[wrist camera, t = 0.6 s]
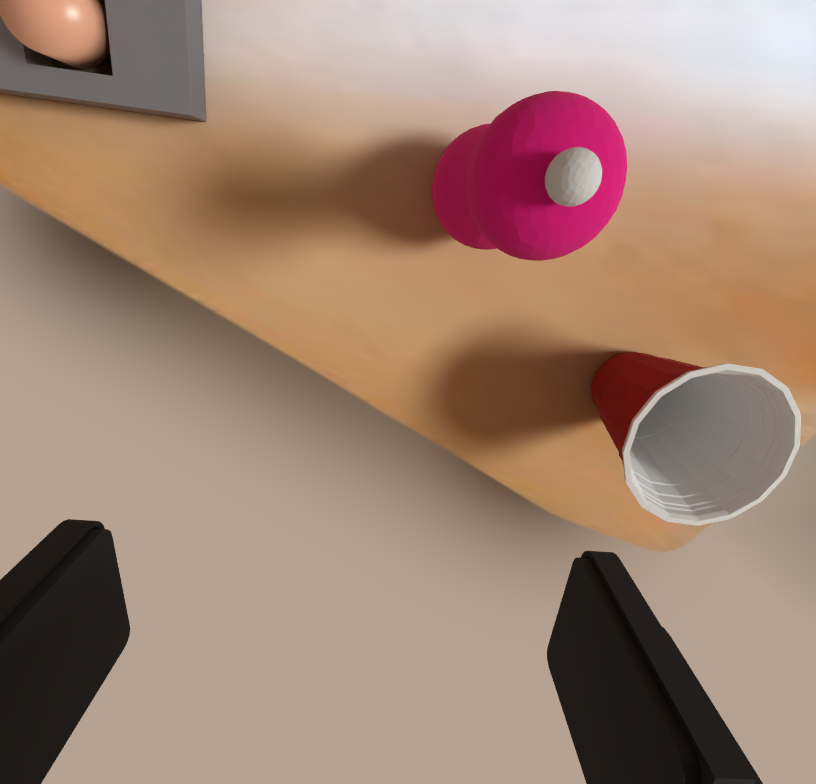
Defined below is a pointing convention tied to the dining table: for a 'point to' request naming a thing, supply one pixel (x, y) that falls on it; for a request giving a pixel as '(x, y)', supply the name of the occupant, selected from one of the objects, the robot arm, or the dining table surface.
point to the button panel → (123, 63)
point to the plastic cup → (697, 434)
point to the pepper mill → (533, 178)
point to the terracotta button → (60, 29)
